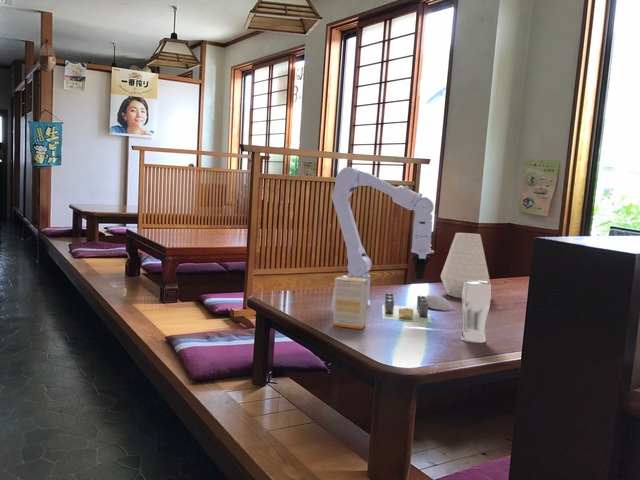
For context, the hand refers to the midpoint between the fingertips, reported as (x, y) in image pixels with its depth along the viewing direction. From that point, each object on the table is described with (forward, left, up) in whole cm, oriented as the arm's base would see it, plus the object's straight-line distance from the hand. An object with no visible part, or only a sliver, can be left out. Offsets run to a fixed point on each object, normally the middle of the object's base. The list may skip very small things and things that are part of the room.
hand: (419, 278), depth 174 cm
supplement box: (-20, -28, -10) cm, 36 cm away
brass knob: (-4, -16, -9) cm, 19 cm away
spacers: (-4, -6, -9) cm, 12 cm away
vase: (+19, +31, -10) cm, 38 cm away
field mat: (-4, -9, -10) cm, 14 cm away
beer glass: (+12, -33, -10) cm, 37 cm away
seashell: (+7, +3, -10) cm, 12 cm away
